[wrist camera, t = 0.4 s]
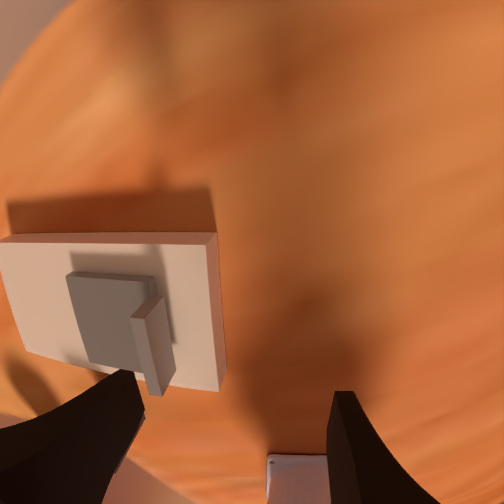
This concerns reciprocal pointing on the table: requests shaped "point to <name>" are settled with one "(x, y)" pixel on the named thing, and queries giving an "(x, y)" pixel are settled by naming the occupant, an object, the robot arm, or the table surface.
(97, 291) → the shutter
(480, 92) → the table surface
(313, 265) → the table surface
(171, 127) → the table surface
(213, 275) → the socket plate
